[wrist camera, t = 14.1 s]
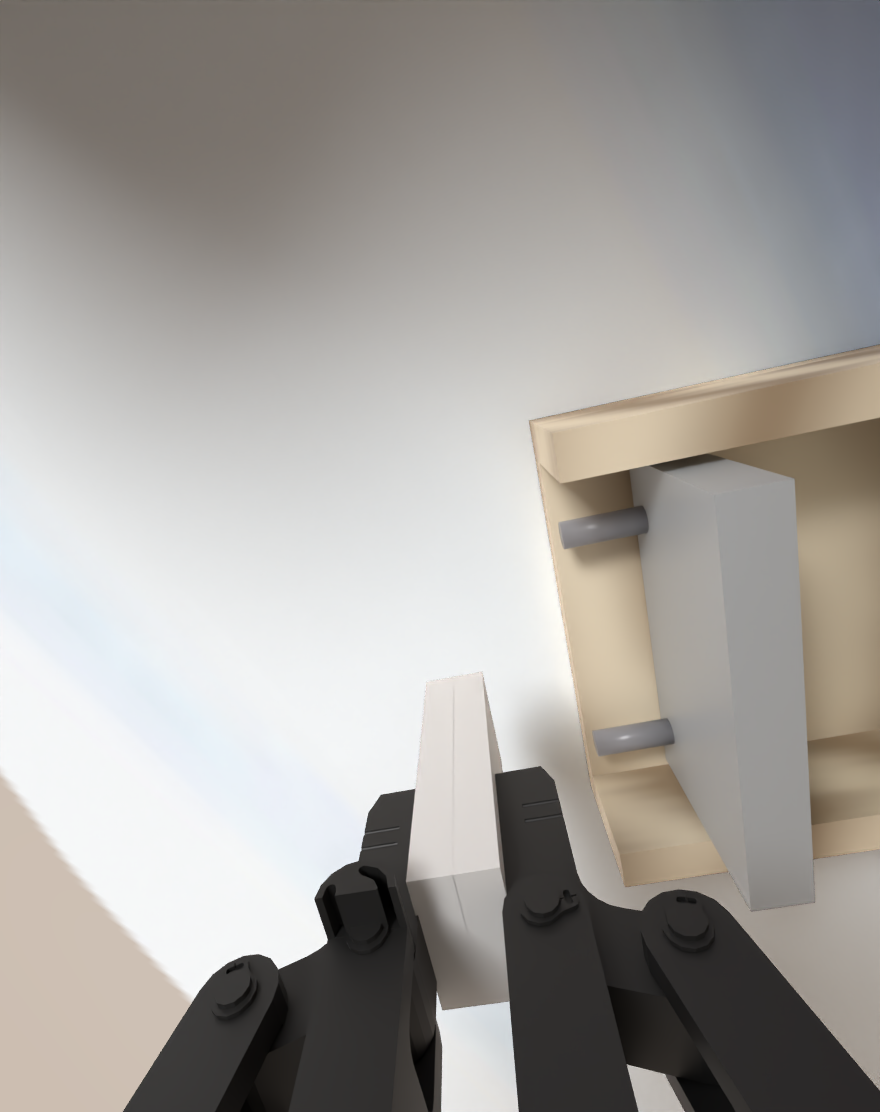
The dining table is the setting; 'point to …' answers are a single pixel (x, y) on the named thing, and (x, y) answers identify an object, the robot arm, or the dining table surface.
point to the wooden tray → (824, 573)
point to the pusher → (724, 660)
